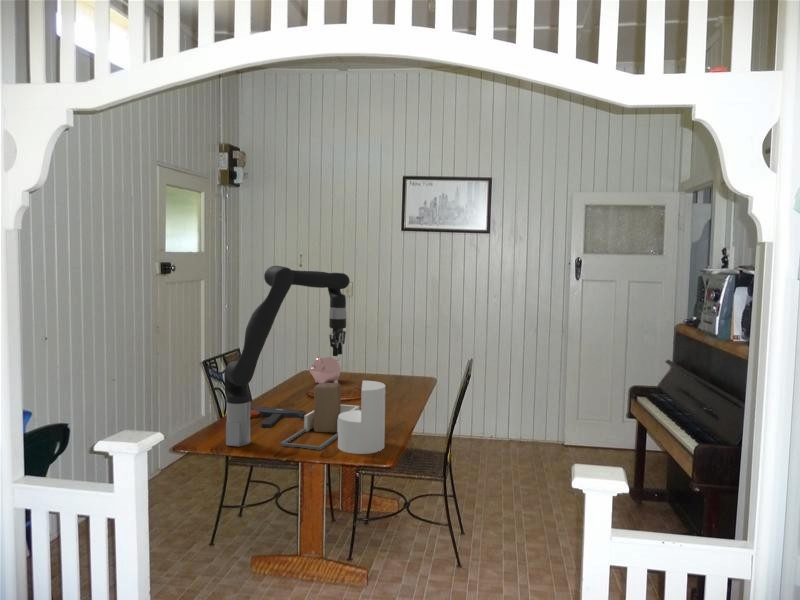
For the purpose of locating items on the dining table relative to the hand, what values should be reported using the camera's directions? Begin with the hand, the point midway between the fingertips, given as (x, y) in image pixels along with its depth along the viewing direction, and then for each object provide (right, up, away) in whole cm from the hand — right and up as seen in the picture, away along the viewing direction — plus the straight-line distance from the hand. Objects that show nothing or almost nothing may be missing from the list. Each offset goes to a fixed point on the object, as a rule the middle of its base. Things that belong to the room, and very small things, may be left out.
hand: (337, 355), depth 292 cm
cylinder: (+13, -34, -31) cm, 48 cm away
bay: (-8, -33, -23) cm, 41 cm away
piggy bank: (-16, -24, +87) cm, 92 cm away
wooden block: (-4, -32, -8) cm, 33 cm away
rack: (-2, -32, -2) cm, 32 cm away
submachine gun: (-31, -31, +6) cm, 44 cm away
